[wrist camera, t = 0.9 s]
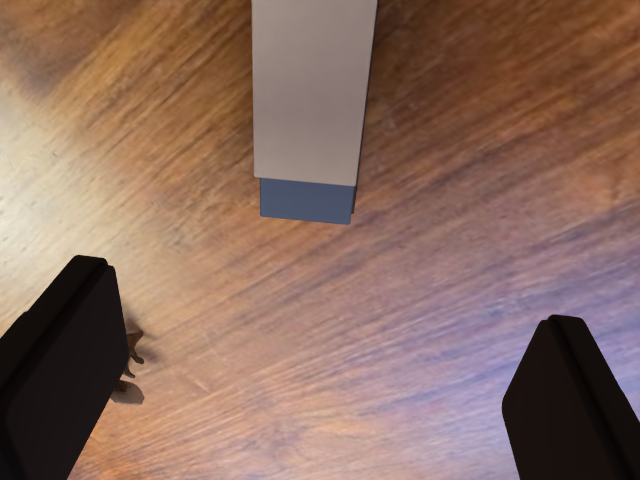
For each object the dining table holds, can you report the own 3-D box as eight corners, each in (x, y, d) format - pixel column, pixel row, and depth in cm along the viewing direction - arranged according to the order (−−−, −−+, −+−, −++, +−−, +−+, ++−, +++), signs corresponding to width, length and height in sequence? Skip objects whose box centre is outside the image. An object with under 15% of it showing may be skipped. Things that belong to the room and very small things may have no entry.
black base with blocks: (268, -49, 21) (245, -40, 17) (382, -40, 21) (386, -29, 17) (267, 192, 28) (250, 241, 24) (354, 200, 28) (352, 251, 24)
